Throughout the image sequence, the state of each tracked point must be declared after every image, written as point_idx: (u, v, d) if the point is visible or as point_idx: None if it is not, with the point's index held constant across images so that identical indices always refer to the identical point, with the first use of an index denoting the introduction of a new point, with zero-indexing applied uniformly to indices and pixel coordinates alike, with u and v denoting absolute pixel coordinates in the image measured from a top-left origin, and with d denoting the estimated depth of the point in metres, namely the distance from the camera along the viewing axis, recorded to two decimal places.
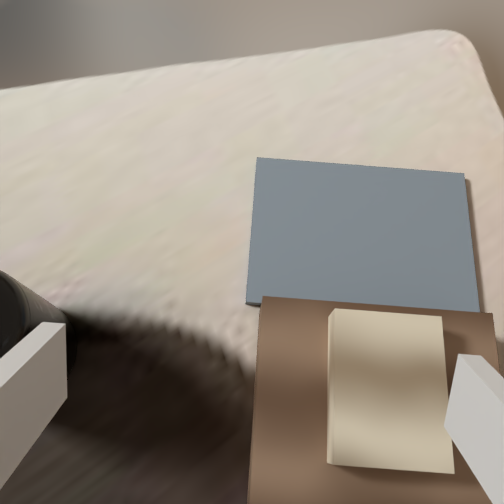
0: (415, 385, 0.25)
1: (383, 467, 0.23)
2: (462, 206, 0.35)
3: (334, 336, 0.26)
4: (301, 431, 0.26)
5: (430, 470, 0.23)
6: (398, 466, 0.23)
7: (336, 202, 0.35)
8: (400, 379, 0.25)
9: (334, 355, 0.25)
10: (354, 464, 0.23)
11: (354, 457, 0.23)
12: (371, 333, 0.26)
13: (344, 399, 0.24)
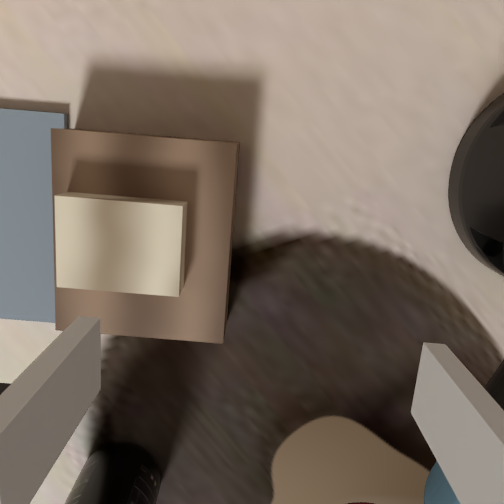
0: (115, 226, 0.30)
1: (179, 260, 0.30)
2: None
3: (81, 288, 0.31)
4: (161, 304, 0.33)
5: (180, 224, 0.29)
6: (178, 249, 0.30)
7: None
8: (112, 239, 0.30)
9: (96, 289, 0.31)
10: (178, 281, 0.30)
11: (173, 281, 0.30)
12: (75, 258, 0.30)
13: (131, 285, 0.30)
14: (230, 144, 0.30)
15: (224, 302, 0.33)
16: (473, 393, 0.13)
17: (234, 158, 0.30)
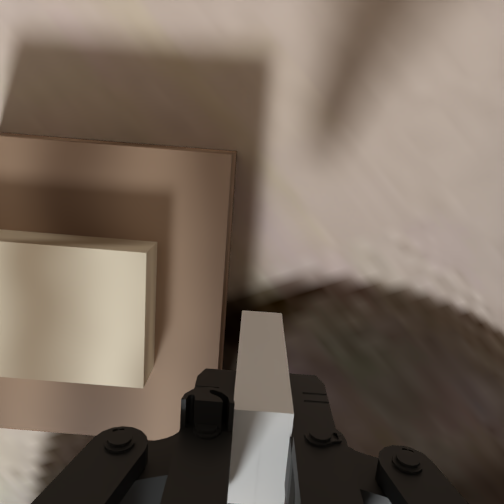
0: (43, 284, 0.19)
1: (143, 334, 0.20)
2: None
3: None
4: (122, 390, 0.22)
5: (144, 281, 0.19)
6: (141, 318, 0.19)
7: None
8: (39, 303, 0.19)
9: (19, 376, 0.20)
10: (141, 366, 0.20)
11: (134, 366, 0.20)
12: None
13: (70, 370, 0.20)
14: (221, 155, 0.20)
15: None
16: (272, 350, 0.15)
17: (227, 177, 0.20)
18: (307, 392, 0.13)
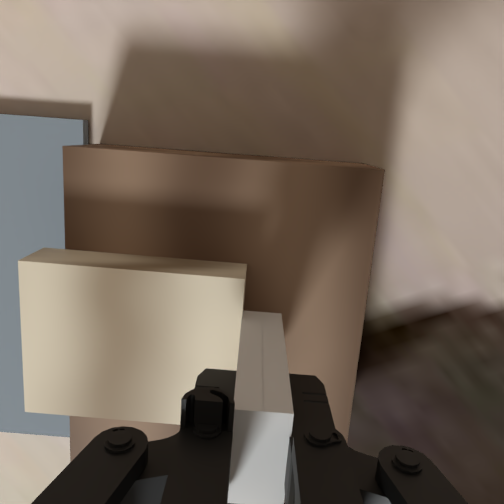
0: (126, 314, 0.17)
1: (236, 370, 0.17)
2: None
3: (66, 413, 0.18)
4: None
5: (240, 310, 0.17)
6: (235, 351, 0.17)
7: None
8: (120, 334, 0.17)
9: (93, 415, 0.18)
10: None
11: None
12: (56, 366, 0.17)
13: (151, 409, 0.18)
14: (373, 171, 0.17)
15: (346, 427, 0.20)
16: (271, 350, 0.15)
17: (378, 195, 0.18)
18: (307, 392, 0.13)
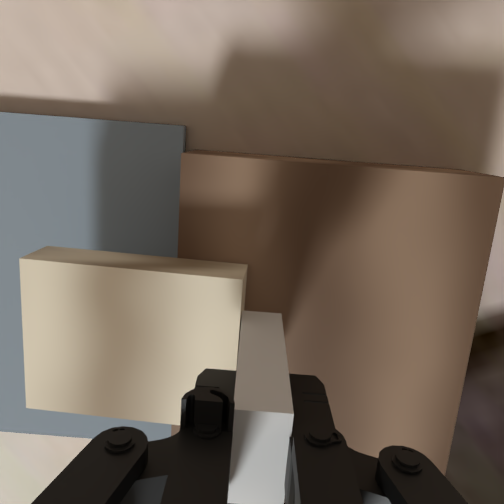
0: (124, 312, 0.17)
1: None
2: None
3: (66, 410, 0.18)
4: (346, 437, 0.20)
5: (238, 311, 0.17)
6: (233, 352, 0.17)
7: (8, 322, 0.23)
8: (118, 333, 0.17)
9: (92, 413, 0.18)
10: None
11: None
12: (56, 363, 0.18)
13: (150, 409, 0.18)
14: (493, 179, 0.17)
15: (450, 434, 0.20)
16: (271, 350, 0.15)
17: (497, 203, 0.18)
18: (307, 392, 0.13)
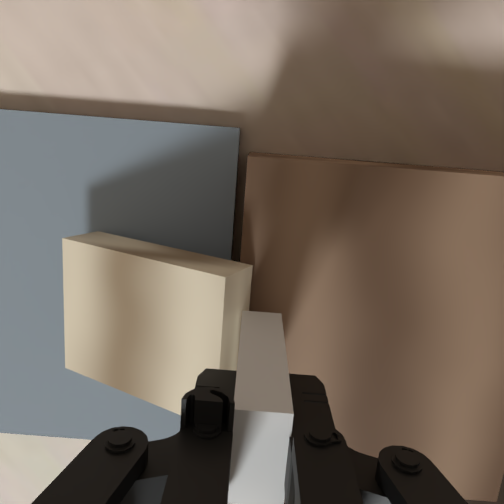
0: (131, 295, 0.18)
1: None
2: (39, 122, 0.20)
3: None
4: (404, 442, 0.20)
5: (221, 309, 0.16)
6: (217, 350, 0.17)
7: (56, 326, 0.23)
8: (127, 314, 0.19)
9: None
10: None
11: None
12: (85, 333, 0.20)
13: (150, 390, 0.19)
14: None
15: None
16: (271, 350, 0.15)
17: None
18: (307, 392, 0.13)
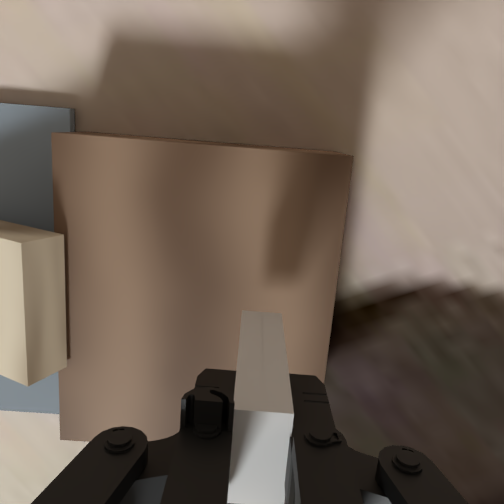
0: None
1: (25, 329, 0.18)
2: None
3: None
4: None
5: (21, 273, 0.18)
6: (22, 311, 0.18)
7: None
8: None
9: None
10: (25, 363, 0.19)
11: (19, 361, 0.19)
12: None
13: None
14: (342, 157, 0.19)
15: None
16: (271, 350, 0.15)
17: (347, 179, 0.19)
18: (307, 392, 0.13)
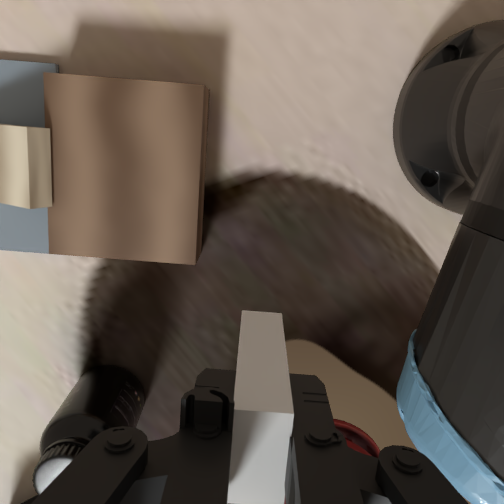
0: None
1: (28, 176, 0.35)
2: None
3: None
4: (141, 229, 0.38)
5: (26, 143, 0.34)
6: (27, 165, 0.35)
7: None
8: None
9: None
10: (29, 195, 0.35)
11: (25, 195, 0.35)
12: None
13: (2, 196, 0.37)
14: (198, 85, 0.35)
15: (195, 227, 0.38)
16: (271, 350, 0.15)
17: (202, 98, 0.35)
18: (307, 392, 0.13)
